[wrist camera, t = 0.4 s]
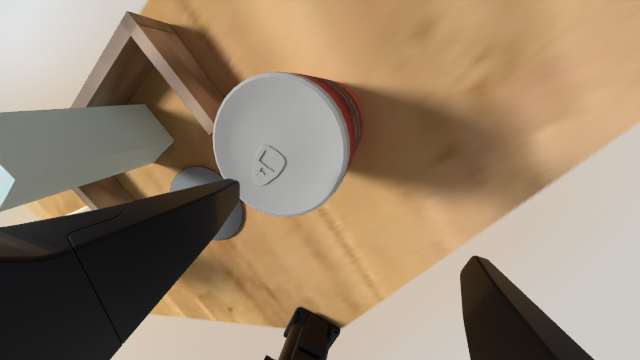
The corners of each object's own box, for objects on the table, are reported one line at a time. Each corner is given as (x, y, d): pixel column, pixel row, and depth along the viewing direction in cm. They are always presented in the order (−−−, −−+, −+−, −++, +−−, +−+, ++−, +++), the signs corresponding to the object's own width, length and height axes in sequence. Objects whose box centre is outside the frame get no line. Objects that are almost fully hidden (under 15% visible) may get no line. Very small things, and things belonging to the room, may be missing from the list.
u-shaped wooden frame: (241, 121, 24) (217, 127, 20) (139, 214, 33) (109, 229, 29) (168, 23, 22) (126, 10, 19) (81, 149, 31) (41, 156, 28)
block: (174, 140, 27) (15, 179, 15) (153, 162, 29) (-3, 212, 17) (144, 103, 26) (-48, 115, 14) (124, 129, 28) (-59, 157, 16)
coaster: (233, 250, 31) (232, 252, 31) (169, 217, 32) (167, 219, 31) (251, 188, 27) (249, 190, 26) (176, 152, 28) (174, 153, 27)
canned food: (276, 147, 24) (203, 188, 14) (298, 66, 21) (221, 45, 11) (345, 176, 23) (317, 239, 14) (378, 96, 20) (374, 104, 10)
